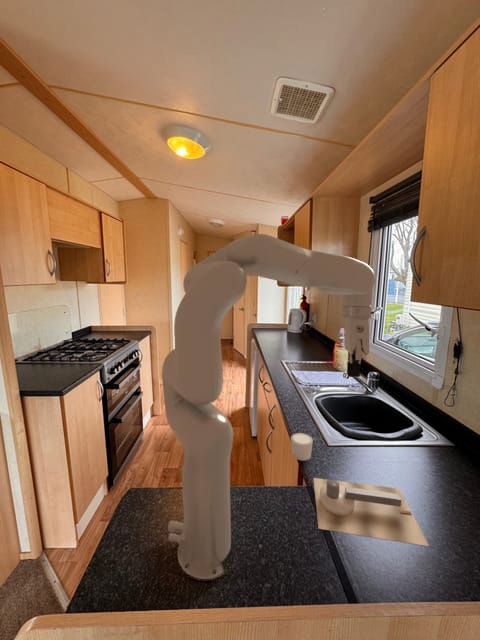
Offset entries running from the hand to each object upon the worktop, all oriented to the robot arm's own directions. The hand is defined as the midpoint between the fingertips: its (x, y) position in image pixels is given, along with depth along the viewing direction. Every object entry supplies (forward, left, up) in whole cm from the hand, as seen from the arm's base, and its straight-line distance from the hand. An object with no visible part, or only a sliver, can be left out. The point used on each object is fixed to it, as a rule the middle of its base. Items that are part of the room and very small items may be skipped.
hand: (353, 375), depth 77 cm
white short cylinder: (-14, +2, -29) cm, 33 cm away
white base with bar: (-1, -16, -27) cm, 32 cm away
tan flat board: (0, -16, -29) cm, 33 cm away
